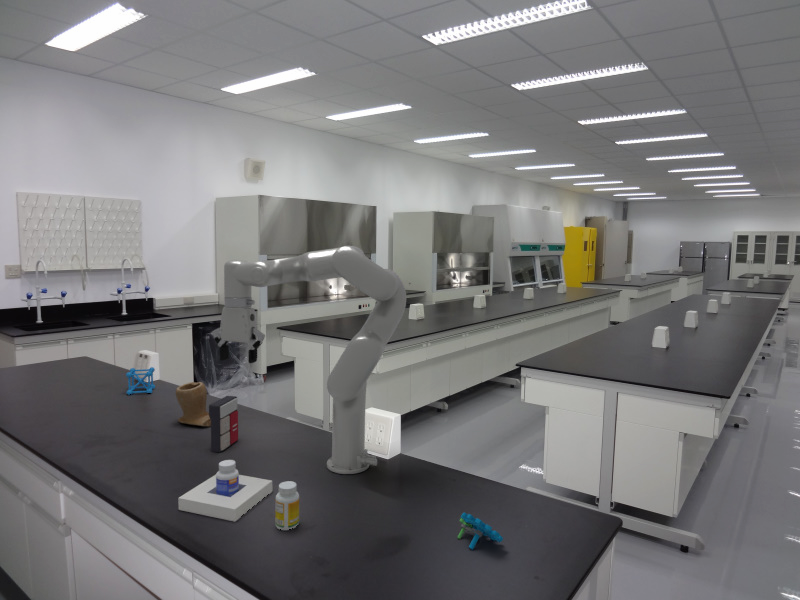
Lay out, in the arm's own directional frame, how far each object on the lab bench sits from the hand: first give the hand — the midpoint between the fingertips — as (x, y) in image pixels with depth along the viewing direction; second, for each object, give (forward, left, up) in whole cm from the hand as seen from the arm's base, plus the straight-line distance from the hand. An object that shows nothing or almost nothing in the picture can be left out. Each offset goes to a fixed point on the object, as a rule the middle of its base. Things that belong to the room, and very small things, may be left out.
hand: (238, 360), depth 151 cm
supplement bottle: (-32, +27, -31) cm, 52 cm away
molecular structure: (+83, -47, -31) cm, 100 cm away
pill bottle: (-12, +22, -31) cm, 39 cm away
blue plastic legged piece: (-75, +19, -31) cm, 83 cm away
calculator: (+11, -8, -31) cm, 33 cm away
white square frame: (-12, +22, -30) cm, 39 cm away
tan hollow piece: (+33, -22, -31) cm, 50 cm away
